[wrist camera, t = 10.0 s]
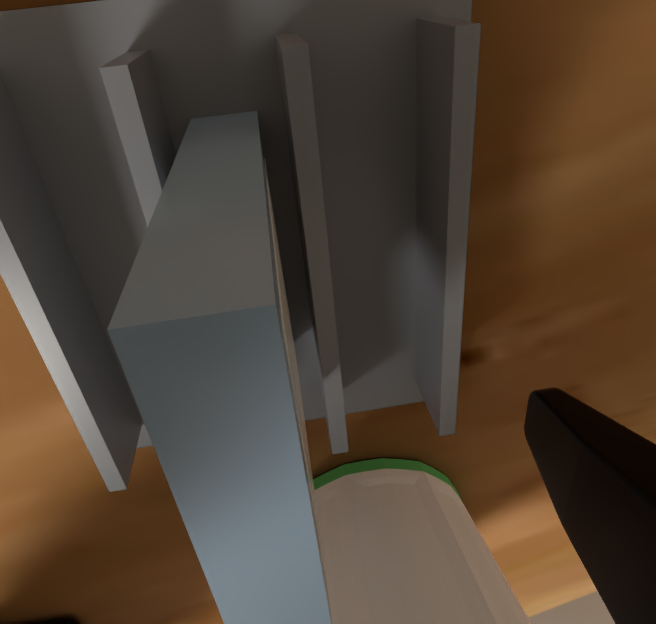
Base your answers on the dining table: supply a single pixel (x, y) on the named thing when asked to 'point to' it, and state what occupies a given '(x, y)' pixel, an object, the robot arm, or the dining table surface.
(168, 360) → the light blue upright panel
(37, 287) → the rack
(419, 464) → the cup
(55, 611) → the dining table surface
